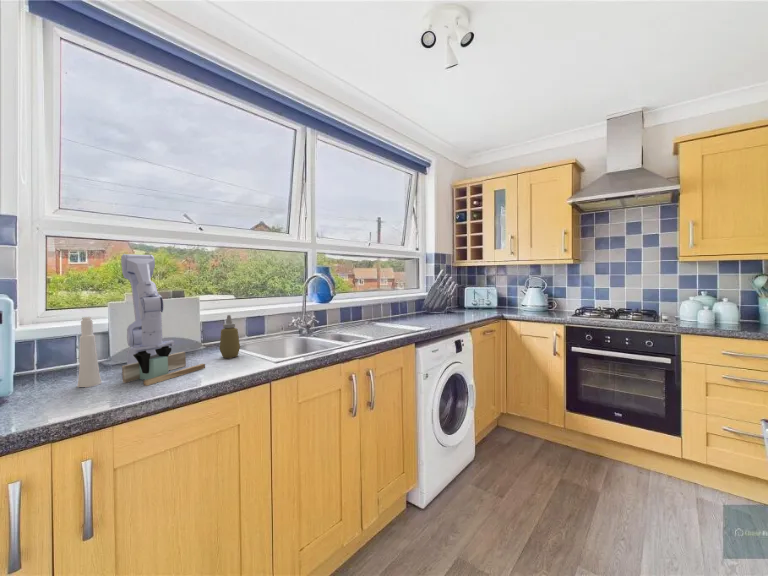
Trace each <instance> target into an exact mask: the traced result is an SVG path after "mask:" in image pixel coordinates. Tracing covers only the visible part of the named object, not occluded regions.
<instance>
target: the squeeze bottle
mask: <svg viewBox="0 0 768 576" xmlns="http://www.w3.org/2000/svg"><path fill="white" fill-rule="evenodd" d="M222 327H223V328H222V329H221V330H220V340H219V351H220V354H221V355H222V358H223V359H231V358H236V357H238V356H239V352H240V350H241V344H240V338H239V330H238V328H236V323H235V322H233V320H232V316H231V314H228V315H226V320H225V323H223V324H222Z"/></svg>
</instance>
